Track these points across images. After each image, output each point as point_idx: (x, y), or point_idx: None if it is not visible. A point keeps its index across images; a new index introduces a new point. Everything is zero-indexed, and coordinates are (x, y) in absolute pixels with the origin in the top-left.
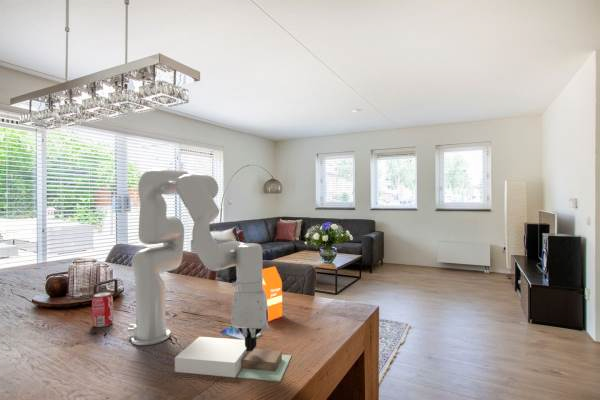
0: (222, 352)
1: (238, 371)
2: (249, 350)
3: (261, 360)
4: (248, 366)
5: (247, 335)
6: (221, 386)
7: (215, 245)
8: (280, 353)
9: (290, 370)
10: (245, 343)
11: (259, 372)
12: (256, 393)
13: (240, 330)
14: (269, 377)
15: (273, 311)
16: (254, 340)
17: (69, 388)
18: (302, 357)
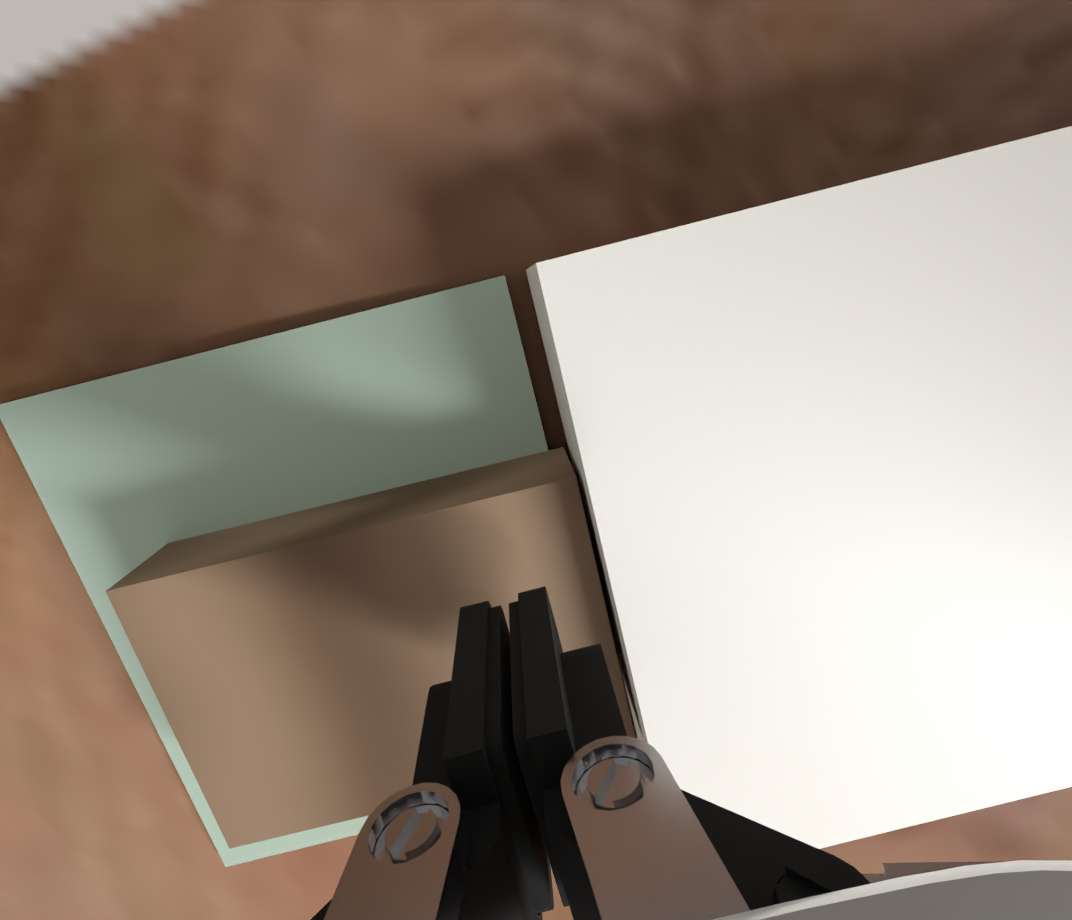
0: (900, 452)
1: (549, 368)
2: (498, 607)
3: (308, 564)
4: (479, 476)
5: (572, 804)
6: (564, 30)
7: None
8: (209, 798)
9: (60, 637)
10: (597, 673)
11: (319, 457)
12: (81, 76)
13: (798, 860)
14: (147, 413)
15: None
16: (419, 766)
17: None
18: (115, 880)
